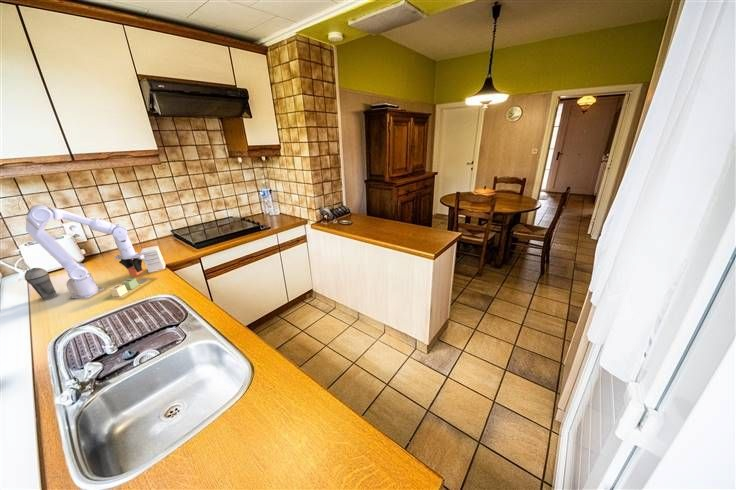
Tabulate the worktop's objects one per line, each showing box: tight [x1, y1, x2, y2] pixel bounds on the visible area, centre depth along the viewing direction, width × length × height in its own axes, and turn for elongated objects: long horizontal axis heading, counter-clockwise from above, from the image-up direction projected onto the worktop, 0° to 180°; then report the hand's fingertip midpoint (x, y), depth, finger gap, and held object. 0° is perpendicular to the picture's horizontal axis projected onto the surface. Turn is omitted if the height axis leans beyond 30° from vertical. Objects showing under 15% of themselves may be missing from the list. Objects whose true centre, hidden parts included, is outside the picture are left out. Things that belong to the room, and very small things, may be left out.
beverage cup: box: [22, 260, 58, 301], centre depth 124 cm, size 7×7×20 cm
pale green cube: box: [120, 277, 140, 291], centre depth 131 cm, size 4×4×4 cm
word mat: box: [111, 278, 151, 298], centre depth 131 cm, size 9×18×1 cm, turn 175°
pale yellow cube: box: [108, 284, 129, 298], centre depth 125 cm, size 4×4×4 cm
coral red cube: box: [127, 266, 144, 276], centre depth 141 cm, size 4×4×4 cm
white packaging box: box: [139, 245, 167, 274], centre depth 148 cm, size 7×7×13 cm
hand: (135, 271), depth 141 cm, fingers closed on coral red cube, 4 cm apart
